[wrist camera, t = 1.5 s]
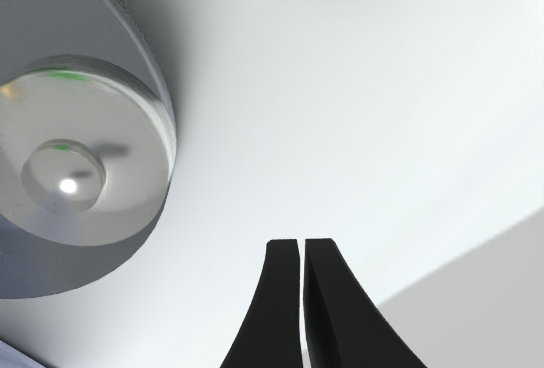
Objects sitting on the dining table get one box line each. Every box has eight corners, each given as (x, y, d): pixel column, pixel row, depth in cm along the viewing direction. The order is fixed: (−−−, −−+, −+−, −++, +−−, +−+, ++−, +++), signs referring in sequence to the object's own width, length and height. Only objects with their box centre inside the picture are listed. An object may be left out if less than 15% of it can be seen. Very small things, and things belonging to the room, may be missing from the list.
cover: (95, 235, 20) (73, 287, 18) (-42, 126, 17) (-92, 169, 15) (211, 152, 18) (204, 197, 16) (78, 14, 15) (43, 41, 13)
